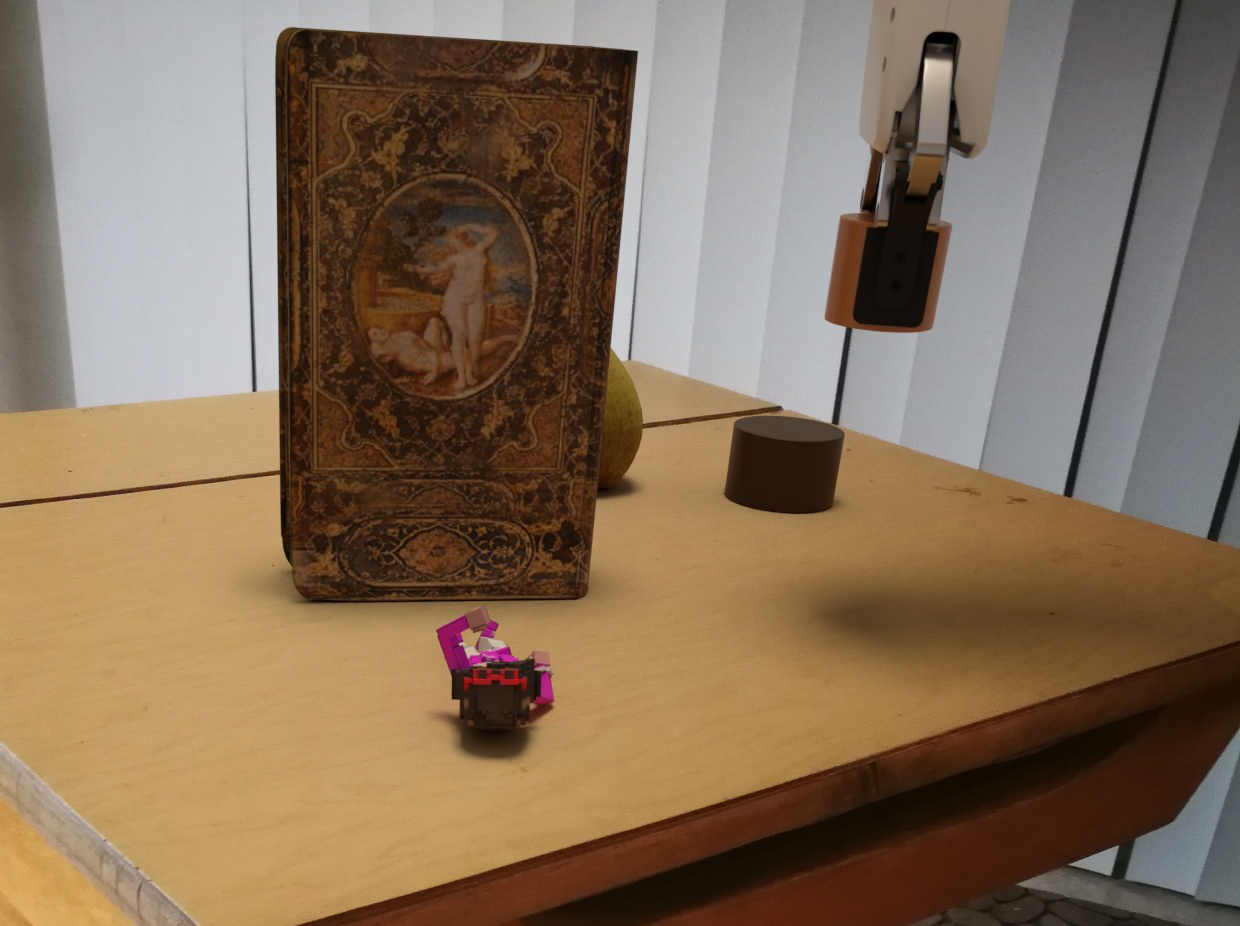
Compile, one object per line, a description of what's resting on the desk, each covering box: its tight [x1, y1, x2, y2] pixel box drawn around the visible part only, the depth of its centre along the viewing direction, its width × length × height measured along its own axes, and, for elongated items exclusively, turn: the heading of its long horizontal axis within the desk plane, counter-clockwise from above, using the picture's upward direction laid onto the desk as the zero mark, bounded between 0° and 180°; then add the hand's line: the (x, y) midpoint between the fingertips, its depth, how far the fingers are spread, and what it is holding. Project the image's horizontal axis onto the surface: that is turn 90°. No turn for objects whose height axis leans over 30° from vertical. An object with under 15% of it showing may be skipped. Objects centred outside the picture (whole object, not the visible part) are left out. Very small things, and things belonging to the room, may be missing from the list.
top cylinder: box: [823, 212, 953, 334], centre depth 73 cm, size 5×5×4 cm
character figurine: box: [435, 604, 555, 732], centre depth 67 cm, size 6×5×12 cm
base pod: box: [724, 415, 846, 514], centre depth 101 cm, size 7×7×4 cm
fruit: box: [597, 348, 644, 490], centre depth 99 cm, size 9×9×12 cm
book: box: [274, 26, 639, 602], centre depth 76 cm, size 16×6×25 cm, turn 102°
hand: (880, 310), depth 74 cm, fingers closed on top cylinder, 5 cm apart
